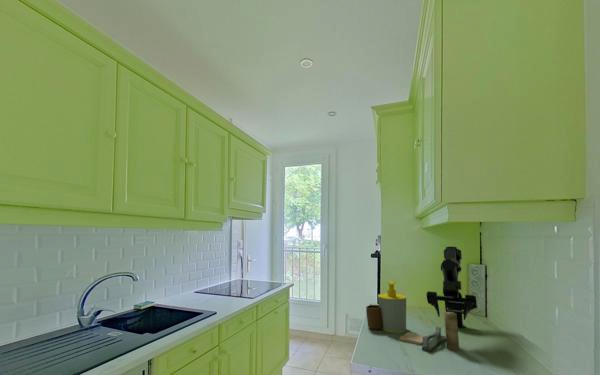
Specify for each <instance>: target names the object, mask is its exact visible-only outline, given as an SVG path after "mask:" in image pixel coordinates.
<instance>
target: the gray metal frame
mask: <svg viewBox="0 0 600 375" xmlns="http://www.w3.org/2000/svg"><path fill="white" fill-rule="evenodd" d="M423 336H424V337H422V338H423V344H422V347H421V350H422V351H423V352H429V353H432V352H433V351H434V350H435V349H436V348H438V346H439V345H441V344H442V343H443V342H444V341H446V335H445V336H444V335H442V327H440V326H436V327H435V332H433V333H432V334H431V333H430V334H428V335H423Z"/></svg>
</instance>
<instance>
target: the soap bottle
mask: <svg viewBox="0 0 600 375" xmlns="http://www.w3.org/2000/svg"><path fill="white" fill-rule="evenodd" d="M387 284H388V289H387V293H386V292H385V293H379V294H378V295H377V305H379V308H380V307H381V312H382V321H383V329H381V330H383V331H385V332H387V333H388V332H389V333H395V334H396V333H405V332H406V331H407V296H406V295H403V294H398V293H397V290H396V289H395V284H396V282H395V281H387Z"/></svg>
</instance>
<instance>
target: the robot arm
mask: <svg viewBox="0 0 600 375" xmlns="http://www.w3.org/2000/svg"><path fill="white" fill-rule="evenodd" d="M462 260H463V255H462V250H461V249H459V248H458V247H457V246H446V247H445V248H444V249H443V260H442V262H441V264H440V271H441V272H442V276H443V281H442V294H441V295H438V293H437V291H429V290H428V291H427V292H426V299H427V304H428V305H430V306H433V307H434V309H435V311H436V314H437V317H438V318H440V314H441V313H440V307H439V301H440V302H441V301H442V302H444V309H445V312H453V313H456V314H457V325H458V328H467V325H465V324H464V321H465V320H466V318H467V317H468V314H469V313H470V312H471V311H474V309H475V310H477V309H478V304H477V296H476V295H475V294H464V297H463V295H462V294H461V292H460V291H461V290H462V280H461V281H460V280H459V274H460V273H461V271H462V266H461V265H462V264H461V263H462V262H461V261H462ZM463 320H464V321H463Z"/></svg>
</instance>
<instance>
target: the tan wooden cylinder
mask: <svg viewBox="0 0 600 375" xmlns="http://www.w3.org/2000/svg"><path fill="white" fill-rule="evenodd" d="M443 314H444V316H443V317H444V328H445V331H444V332H445V336H446V339H445V344H446V349H447V350H449V351H457V352H458V351H459V350H460V340H459V330H458V329H459V327H458V325H457V314H456V313H453V312H446V311H445V312H444V313H443Z"/></svg>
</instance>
